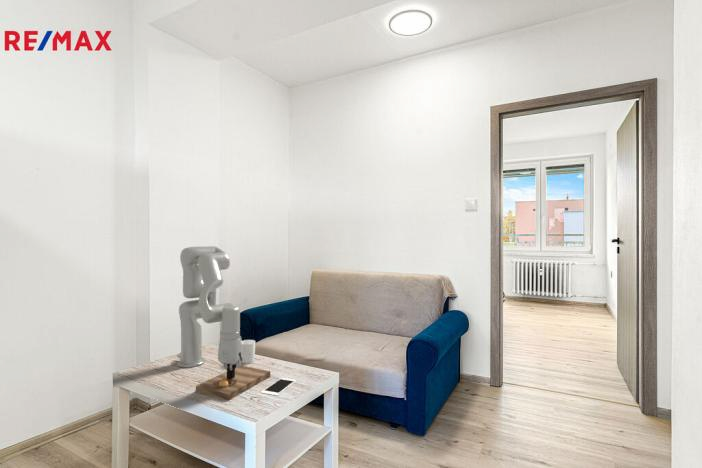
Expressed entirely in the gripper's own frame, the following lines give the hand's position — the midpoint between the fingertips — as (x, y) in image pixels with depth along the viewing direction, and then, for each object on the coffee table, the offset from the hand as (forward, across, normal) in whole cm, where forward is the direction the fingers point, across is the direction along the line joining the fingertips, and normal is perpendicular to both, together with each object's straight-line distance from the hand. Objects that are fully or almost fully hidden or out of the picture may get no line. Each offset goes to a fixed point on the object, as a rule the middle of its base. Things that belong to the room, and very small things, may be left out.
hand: (230, 378), depth 154 cm
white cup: (+4, -14, +26) cm, 30 cm away
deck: (+3, 0, +2) cm, 4 cm away
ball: (+1, 0, -4) cm, 4 cm away
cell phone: (+4, +19, +8) cm, 21 cm away
